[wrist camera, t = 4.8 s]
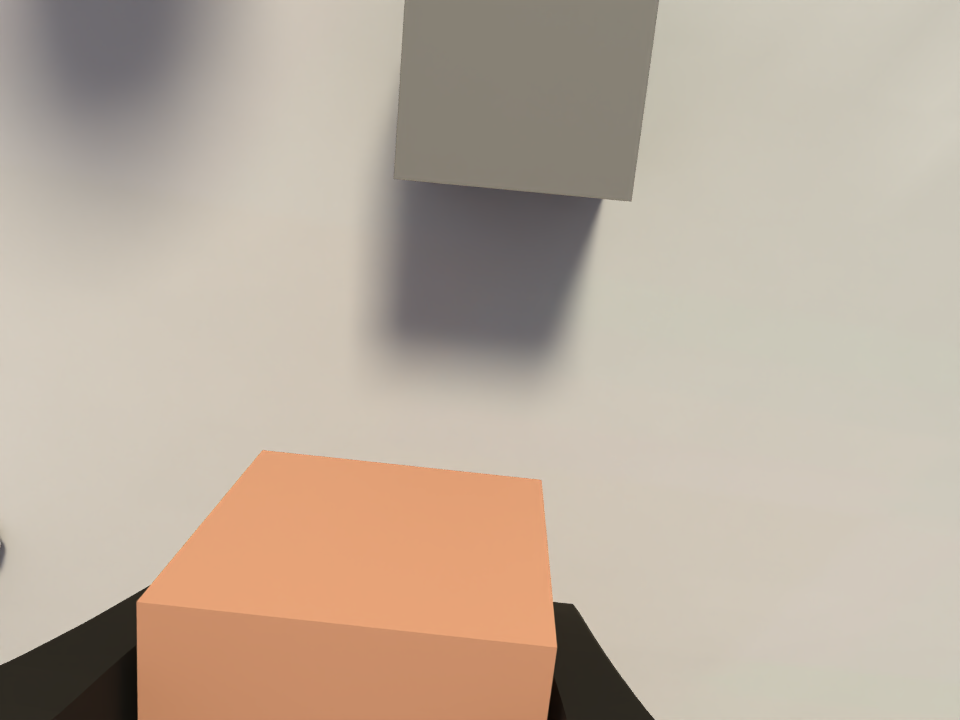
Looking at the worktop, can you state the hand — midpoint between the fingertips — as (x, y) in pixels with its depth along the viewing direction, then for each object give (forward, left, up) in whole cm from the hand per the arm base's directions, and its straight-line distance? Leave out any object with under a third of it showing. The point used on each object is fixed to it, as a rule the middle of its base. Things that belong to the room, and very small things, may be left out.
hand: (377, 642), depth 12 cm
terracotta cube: (0, 0, -2) cm, 2 cm away
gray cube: (+7, +5, -10) cm, 13 cm away
